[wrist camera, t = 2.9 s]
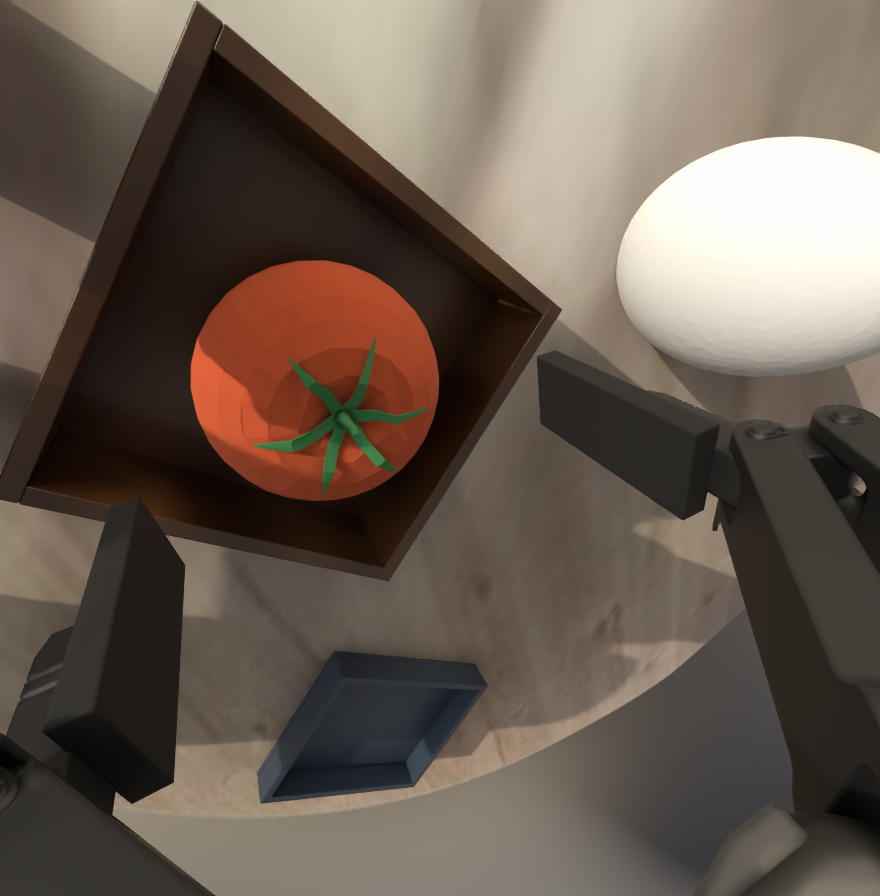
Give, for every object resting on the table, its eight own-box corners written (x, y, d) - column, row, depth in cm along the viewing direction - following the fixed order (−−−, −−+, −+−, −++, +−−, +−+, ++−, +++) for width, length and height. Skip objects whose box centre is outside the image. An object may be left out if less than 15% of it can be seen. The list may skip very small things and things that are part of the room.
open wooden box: (33, 435, 21) (-10, 498, 17) (196, 45, 18) (195, -2, 13) (362, 527, 31) (388, 581, 27) (506, 291, 28) (562, 309, 23)
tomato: (158, 261, 20) (130, 308, 12) (386, 237, 23) (485, 261, 15) (226, 465, 25) (240, 594, 17) (405, 421, 28) (486, 510, 20)
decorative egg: (705, 330, 36) (951, 397, 25) (580, 357, 32) (804, 453, 20) (751, 145, 30) (1108, 114, 18) (604, 148, 26) (943, 110, 14)
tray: (256, 773, 38) (260, 804, 36) (334, 650, 35) (342, 677, 33) (405, 762, 46) (414, 787, 44) (475, 664, 44) (488, 685, 42)
